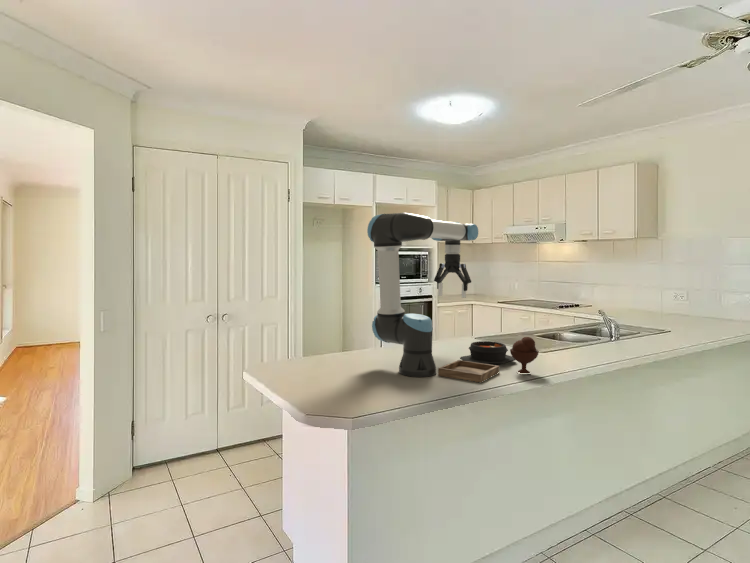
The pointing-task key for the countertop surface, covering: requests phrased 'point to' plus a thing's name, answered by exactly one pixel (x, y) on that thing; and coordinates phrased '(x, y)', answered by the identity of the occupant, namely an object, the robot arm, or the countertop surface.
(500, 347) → the casserole
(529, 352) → the ice cream bowl
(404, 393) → the countertop surface
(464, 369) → the walnut tray
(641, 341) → the countertop surface
